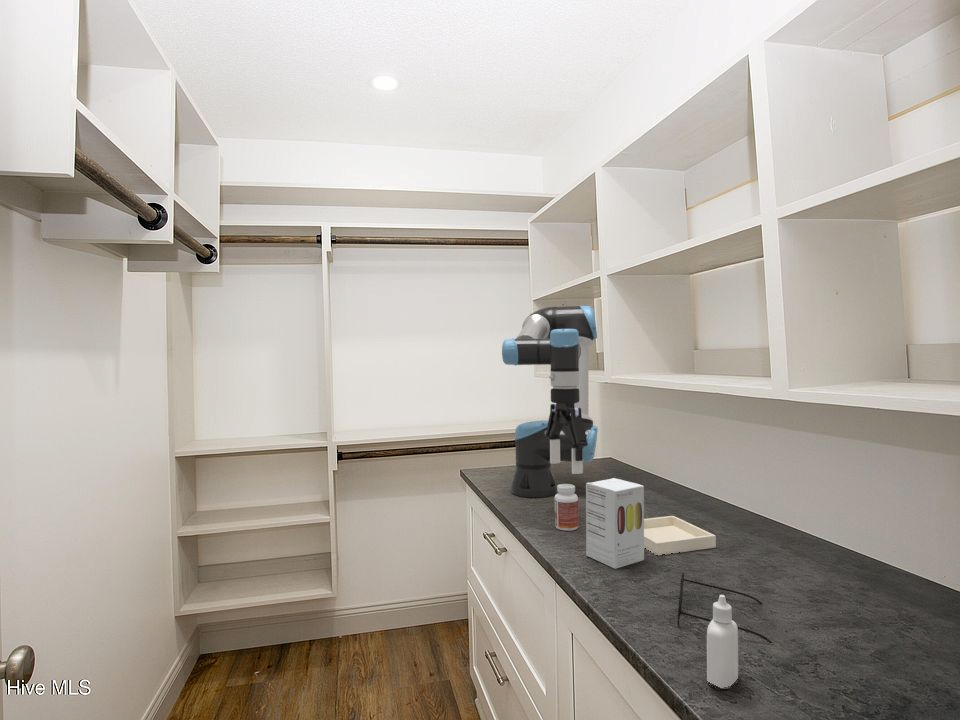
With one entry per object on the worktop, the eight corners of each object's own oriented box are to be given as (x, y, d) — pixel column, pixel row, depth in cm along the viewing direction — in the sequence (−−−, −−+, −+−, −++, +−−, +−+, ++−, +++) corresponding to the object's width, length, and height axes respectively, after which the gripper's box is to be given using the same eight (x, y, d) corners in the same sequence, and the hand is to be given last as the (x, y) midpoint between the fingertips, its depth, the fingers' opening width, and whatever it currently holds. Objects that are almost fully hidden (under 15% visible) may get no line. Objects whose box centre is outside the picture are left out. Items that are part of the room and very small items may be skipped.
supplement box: (615, 570, 113) (614, 491, 113) (584, 556, 121) (584, 482, 121) (645, 560, 118) (645, 484, 118) (614, 547, 126) (614, 476, 126)
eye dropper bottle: (695, 674, 77) (695, 591, 76) (729, 667, 78) (728, 586, 78) (716, 693, 72) (715, 605, 72) (751, 686, 74) (750, 600, 73)
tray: (619, 532, 136) (619, 521, 136) (673, 526, 140) (673, 515, 140) (656, 555, 120) (656, 543, 120) (715, 547, 125) (715, 535, 125)
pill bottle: (583, 528, 140) (583, 486, 139) (566, 533, 136) (565, 490, 136) (567, 522, 145) (566, 481, 145) (550, 526, 141) (549, 485, 141)
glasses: (679, 594, 103) (682, 569, 102) (765, 616, 97) (769, 590, 97) (676, 630, 89) (679, 601, 89) (776, 659, 84) (780, 628, 83)
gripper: (533, 385, 151) (534, 460, 151) (572, 390, 127) (573, 479, 127) (558, 385, 153) (559, 458, 153) (601, 389, 129) (602, 477, 129)
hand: (565, 468), depth 140 cm, fingers open, 13 cm apart
